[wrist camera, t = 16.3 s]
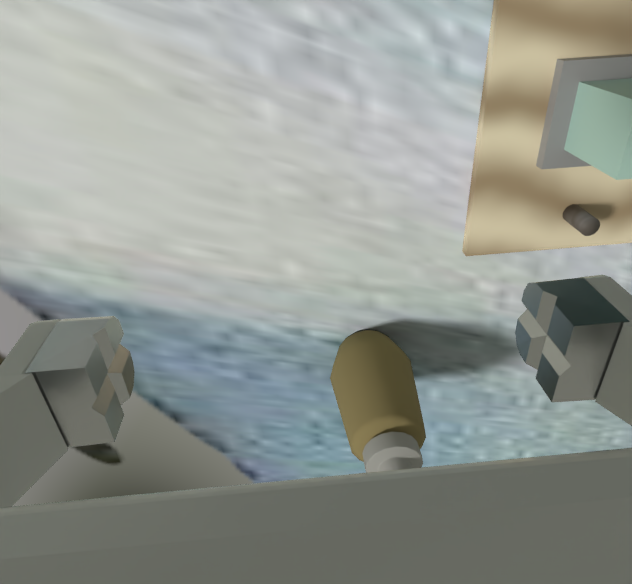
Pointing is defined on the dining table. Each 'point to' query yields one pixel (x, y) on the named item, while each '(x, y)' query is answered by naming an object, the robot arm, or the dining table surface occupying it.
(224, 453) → the dining table surface
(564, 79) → the flange block
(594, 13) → the locating board
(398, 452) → the squeeze bottle
